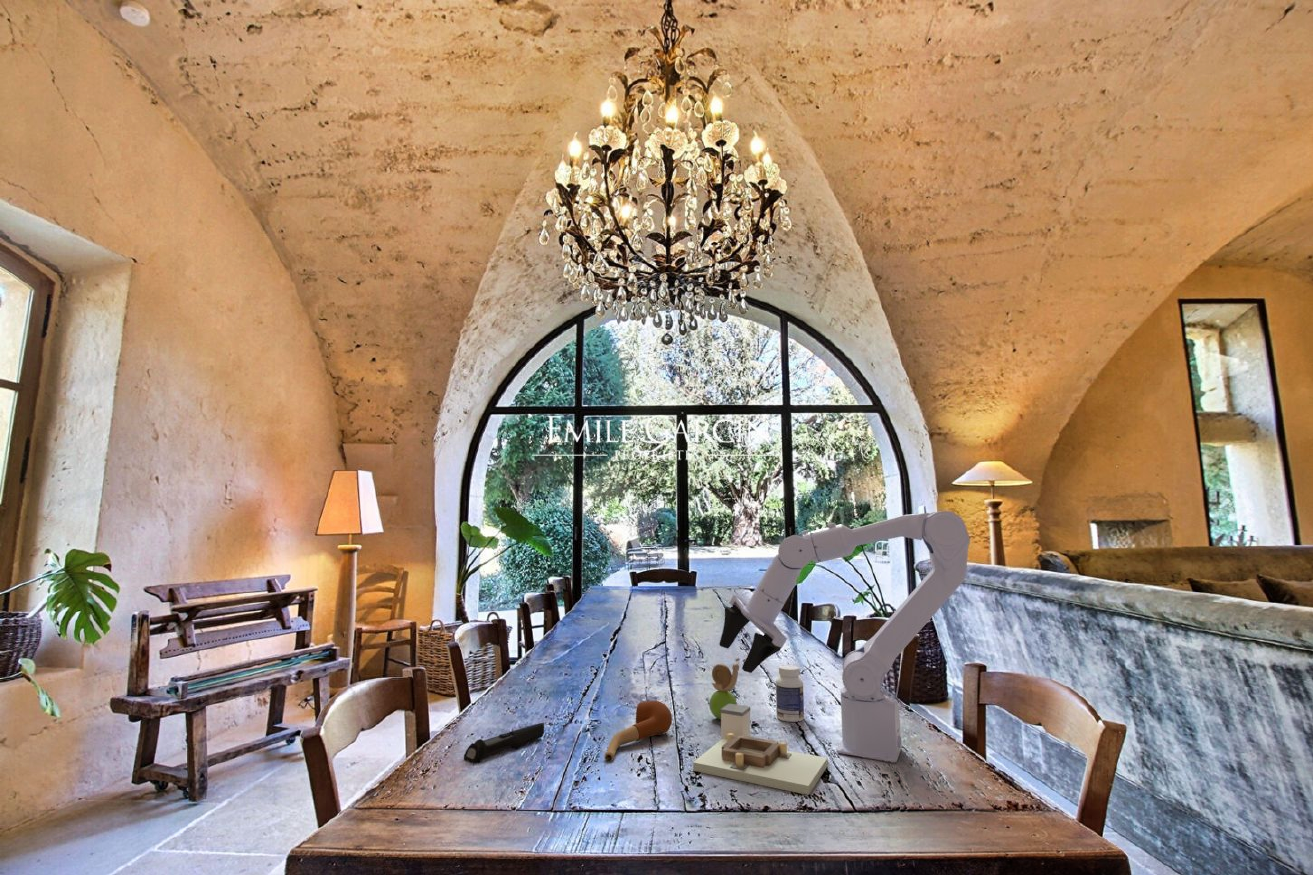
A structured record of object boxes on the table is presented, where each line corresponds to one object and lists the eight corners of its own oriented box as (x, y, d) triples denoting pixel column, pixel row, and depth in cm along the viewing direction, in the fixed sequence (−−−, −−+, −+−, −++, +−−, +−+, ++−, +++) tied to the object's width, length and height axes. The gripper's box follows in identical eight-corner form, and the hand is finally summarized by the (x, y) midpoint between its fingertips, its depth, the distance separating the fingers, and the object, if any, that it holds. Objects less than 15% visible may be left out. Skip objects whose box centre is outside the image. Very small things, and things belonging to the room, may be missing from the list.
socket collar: (782, 752, 99) (782, 742, 99) (767, 769, 92) (766, 758, 92) (736, 743, 102) (736, 734, 102) (718, 759, 95) (718, 749, 96)
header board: (827, 766, 96) (827, 745, 96) (808, 795, 86) (807, 772, 86) (722, 746, 104) (722, 727, 105) (693, 770, 94) (693, 750, 94)
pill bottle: (807, 723, 117) (805, 670, 119) (779, 722, 117) (777, 670, 119) (801, 714, 123) (799, 664, 124) (774, 714, 123) (773, 664, 124)
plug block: (750, 739, 108) (750, 706, 109) (742, 746, 105) (742, 712, 106) (729, 735, 110) (729, 703, 111) (720, 742, 107) (720, 709, 107)
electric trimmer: (549, 742, 108) (549, 724, 108) (475, 766, 96) (476, 745, 97) (535, 737, 110) (536, 719, 110) (461, 760, 98) (463, 740, 99)
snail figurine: (732, 726, 115) (731, 660, 117) (704, 719, 119) (703, 656, 121) (746, 719, 119) (745, 656, 121) (718, 713, 123) (718, 652, 125)
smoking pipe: (677, 732, 112) (677, 699, 113) (636, 767, 96) (636, 729, 96) (642, 727, 115) (642, 695, 116) (596, 760, 98) (597, 723, 99)
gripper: (734, 570, 115) (699, 631, 115) (781, 609, 103) (742, 678, 103) (758, 580, 119) (724, 640, 119) (807, 619, 107) (769, 686, 107)
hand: (734, 658), depth 111 cm, fingers open, 7 cm apart
